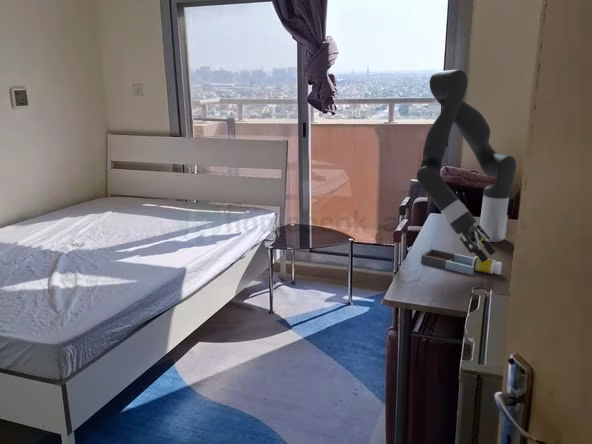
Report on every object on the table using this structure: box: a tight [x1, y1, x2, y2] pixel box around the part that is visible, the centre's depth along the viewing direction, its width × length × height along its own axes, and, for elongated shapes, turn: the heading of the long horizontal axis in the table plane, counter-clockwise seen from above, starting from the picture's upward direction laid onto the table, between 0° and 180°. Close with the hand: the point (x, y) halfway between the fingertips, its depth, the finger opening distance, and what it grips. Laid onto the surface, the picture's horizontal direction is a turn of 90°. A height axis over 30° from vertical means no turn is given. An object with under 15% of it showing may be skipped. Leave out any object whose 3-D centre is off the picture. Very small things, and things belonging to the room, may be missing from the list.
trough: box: [444, 253, 475, 276], centre depth 171 cm, size 9×9×2 cm
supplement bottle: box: [471, 255, 503, 275], centre depth 167 cm, size 5×5×8 cm
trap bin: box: [420, 248, 455, 269], centre depth 176 cm, size 9×9×2 cm
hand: (489, 257), depth 165 cm, fingers open, 8 cm apart
